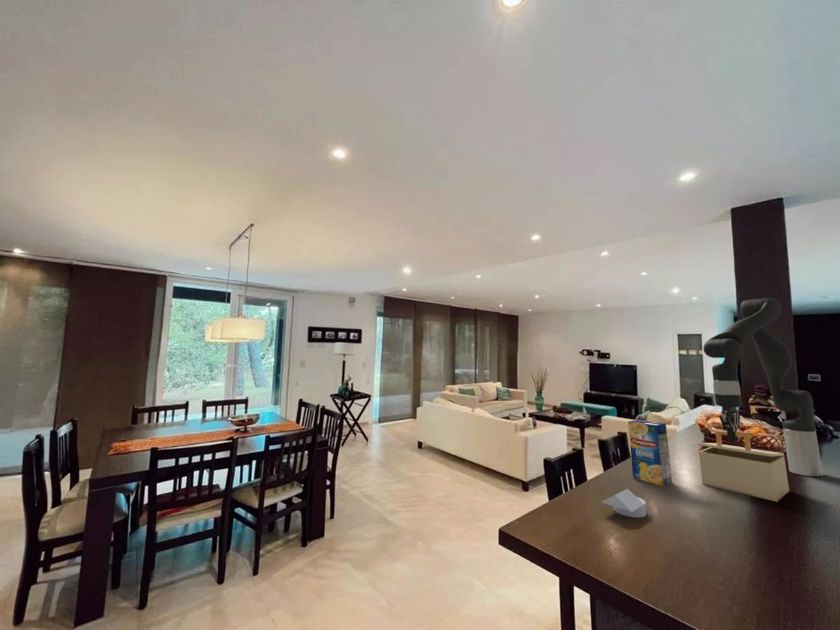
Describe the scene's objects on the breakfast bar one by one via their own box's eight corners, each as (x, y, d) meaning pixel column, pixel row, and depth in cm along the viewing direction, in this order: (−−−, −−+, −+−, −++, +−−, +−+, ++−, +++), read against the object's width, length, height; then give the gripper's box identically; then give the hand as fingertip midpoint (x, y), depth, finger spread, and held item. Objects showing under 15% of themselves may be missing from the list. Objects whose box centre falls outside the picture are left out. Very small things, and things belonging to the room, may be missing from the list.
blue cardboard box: (663, 486, 130) (656, 425, 133) (632, 478, 139) (627, 421, 142) (672, 482, 133) (666, 423, 136) (642, 475, 143) (637, 419, 146)
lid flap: (714, 445, 141) (713, 428, 143) (784, 455, 125) (782, 436, 126) (698, 445, 133) (697, 427, 134) (770, 456, 116) (768, 436, 118)
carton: (718, 476, 140) (714, 445, 141) (789, 491, 123) (784, 456, 125) (702, 484, 131) (698, 451, 133) (776, 501, 114) (771, 463, 116)
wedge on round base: (633, 524, 101) (651, 512, 108) (630, 499, 101) (649, 489, 109) (601, 513, 108) (621, 503, 115) (599, 490, 109) (619, 481, 116)
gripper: (721, 391, 135) (726, 437, 133) (707, 393, 128) (713, 442, 126) (746, 392, 129) (753, 441, 127) (734, 394, 122) (740, 446, 119)
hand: (733, 441), depth 126 cm, fingers closed
